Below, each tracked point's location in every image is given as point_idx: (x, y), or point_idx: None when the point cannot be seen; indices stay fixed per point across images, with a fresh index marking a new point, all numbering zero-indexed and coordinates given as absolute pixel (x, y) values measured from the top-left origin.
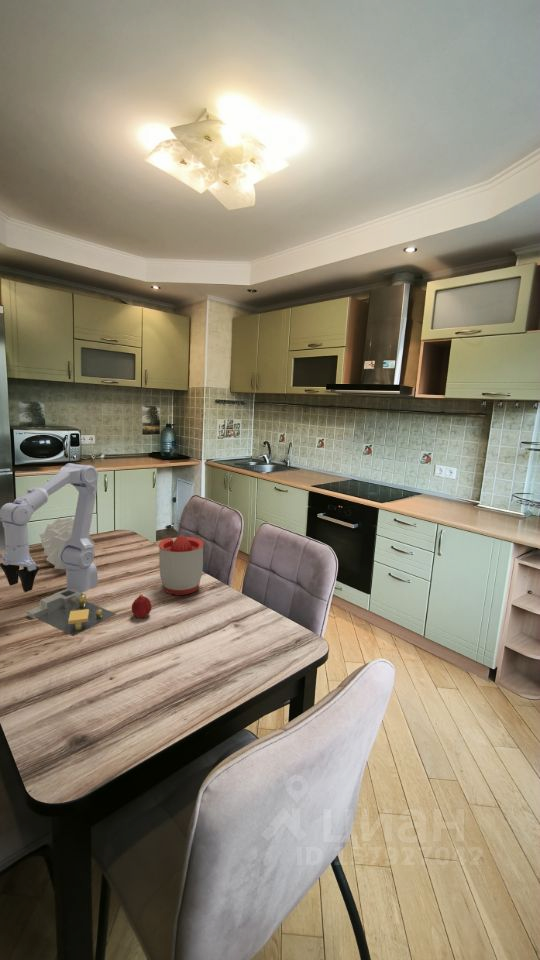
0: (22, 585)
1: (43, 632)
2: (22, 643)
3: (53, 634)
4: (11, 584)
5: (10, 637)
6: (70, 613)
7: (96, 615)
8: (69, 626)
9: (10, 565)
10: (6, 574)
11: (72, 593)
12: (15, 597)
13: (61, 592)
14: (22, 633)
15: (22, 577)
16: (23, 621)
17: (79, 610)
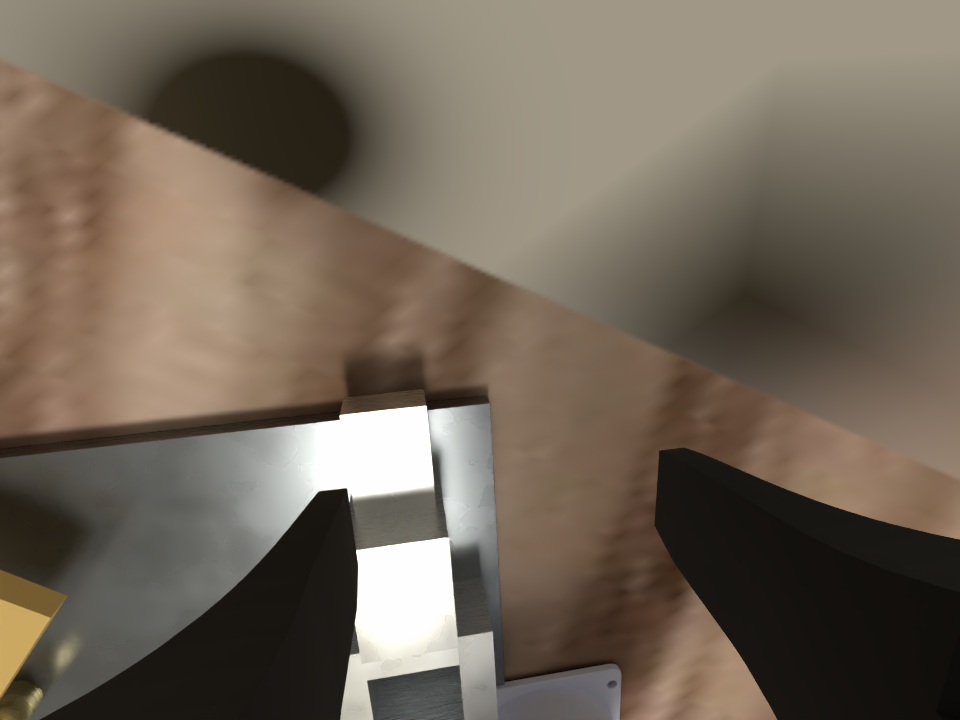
0: (309, 537)
1: (117, 367)
2: (43, 187)
3: (28, 401)
4: (664, 465)
5: (221, 171)
6: (1, 603)
7: (13, 695)
8: (16, 517)
9: (897, 714)
10: (791, 516)
11: (418, 716)
12: (791, 452)
13: (469, 679)
14: (219, 260)
15: (112, 681)
16: (407, 345)
17: (10, 666)
